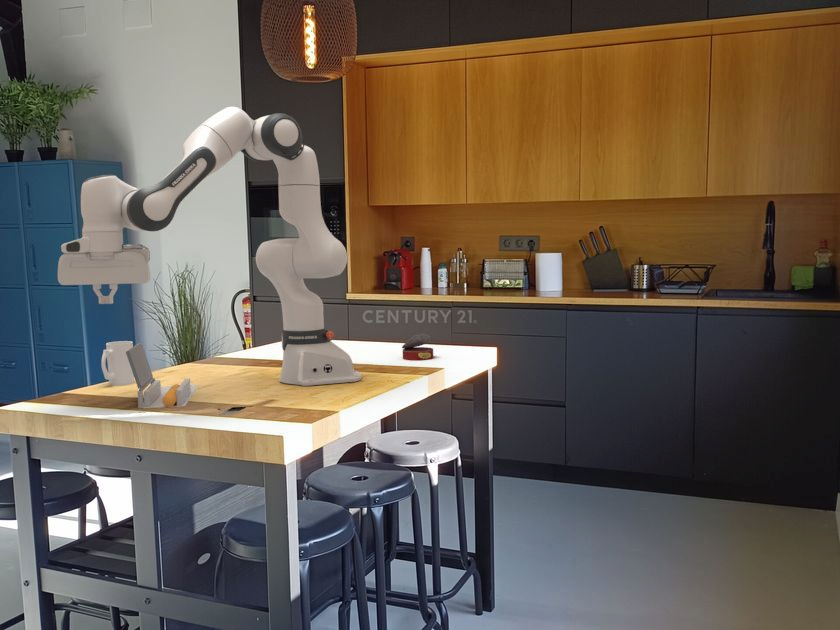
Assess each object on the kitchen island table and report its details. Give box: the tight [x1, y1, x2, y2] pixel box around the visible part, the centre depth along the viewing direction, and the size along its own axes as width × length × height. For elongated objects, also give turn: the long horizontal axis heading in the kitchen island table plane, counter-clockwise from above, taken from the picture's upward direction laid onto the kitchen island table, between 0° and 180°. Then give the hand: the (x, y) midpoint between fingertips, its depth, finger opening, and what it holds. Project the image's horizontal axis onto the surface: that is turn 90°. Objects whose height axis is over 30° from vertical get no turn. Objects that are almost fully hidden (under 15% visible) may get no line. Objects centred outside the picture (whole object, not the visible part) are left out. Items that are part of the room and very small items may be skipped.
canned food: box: [401, 333, 434, 362], centre depth 254 cm, size 11×10×10 cm
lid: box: [126, 342, 155, 392], centre depth 190 cm, size 10×15×1 cm
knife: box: [219, 405, 253, 416], centre depth 185 cm, size 22×1×5 cm
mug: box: [100, 340, 135, 387], centre depth 213 cm, size 10×7×12 cm, turn 157°
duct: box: [136, 377, 199, 414], centre depth 196 cm, size 10×26×5 cm, turn 9°
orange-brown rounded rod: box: [162, 384, 181, 408], centre depth 190 cm, size 3×12×3 cm
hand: (106, 303), depth 188 cm, fingers closed
